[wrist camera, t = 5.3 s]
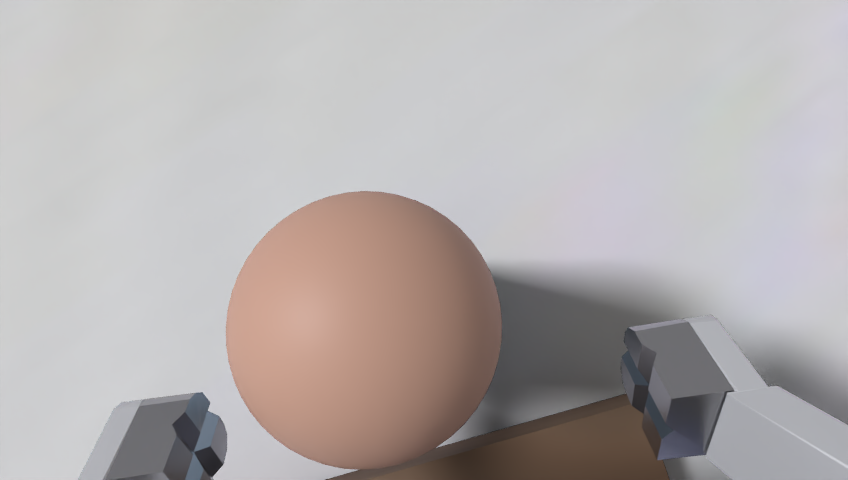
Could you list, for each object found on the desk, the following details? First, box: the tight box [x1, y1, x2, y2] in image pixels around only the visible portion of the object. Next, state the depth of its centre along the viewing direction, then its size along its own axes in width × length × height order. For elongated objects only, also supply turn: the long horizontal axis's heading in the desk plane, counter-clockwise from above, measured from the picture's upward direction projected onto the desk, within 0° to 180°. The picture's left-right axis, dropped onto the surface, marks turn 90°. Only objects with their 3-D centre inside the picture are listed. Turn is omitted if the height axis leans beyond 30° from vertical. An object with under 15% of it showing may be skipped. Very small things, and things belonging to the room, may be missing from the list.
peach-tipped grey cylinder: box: [226, 191, 502, 470], centre depth 12 cm, size 4×4×12 cm
